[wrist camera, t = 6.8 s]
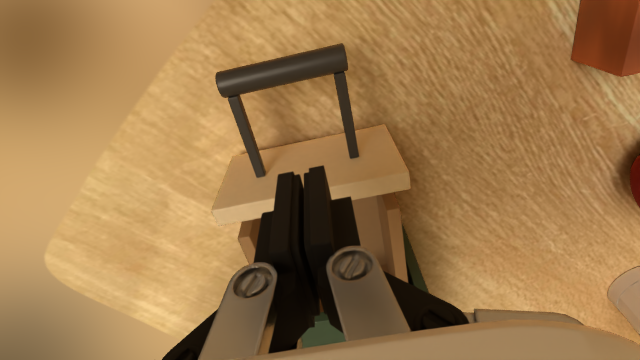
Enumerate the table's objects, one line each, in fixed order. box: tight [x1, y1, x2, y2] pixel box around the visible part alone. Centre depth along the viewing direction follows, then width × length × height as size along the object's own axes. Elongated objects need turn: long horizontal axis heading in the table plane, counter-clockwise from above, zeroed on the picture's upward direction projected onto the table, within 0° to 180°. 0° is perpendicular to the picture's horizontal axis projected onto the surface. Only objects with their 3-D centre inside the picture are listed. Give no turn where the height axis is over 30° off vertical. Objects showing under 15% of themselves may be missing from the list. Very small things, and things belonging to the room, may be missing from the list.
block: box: [571, 0, 640, 77], centre depth 20 cm, size 4×4×4 cm
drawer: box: [211, 43, 411, 312], centre depth 24 cm, size 20×11×7 cm, turn 12°
